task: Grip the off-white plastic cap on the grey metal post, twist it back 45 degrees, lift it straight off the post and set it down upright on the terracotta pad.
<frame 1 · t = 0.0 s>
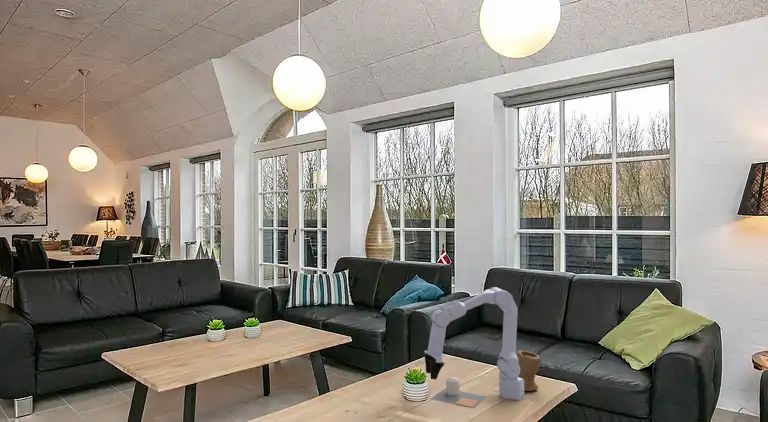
hand: (431, 375, 198), 11 cm above the table, tool pointing down, fingers open, 7 cm apart
base board: (458, 400, 201), on the table
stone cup: (523, 387, 217), on the table
metal post: (452, 388, 206), on the base board, point 3 cm above the table
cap: (452, 386, 206), on the base board, point 4 cm above the table
terracotta pad: (467, 402, 195), resting on base board
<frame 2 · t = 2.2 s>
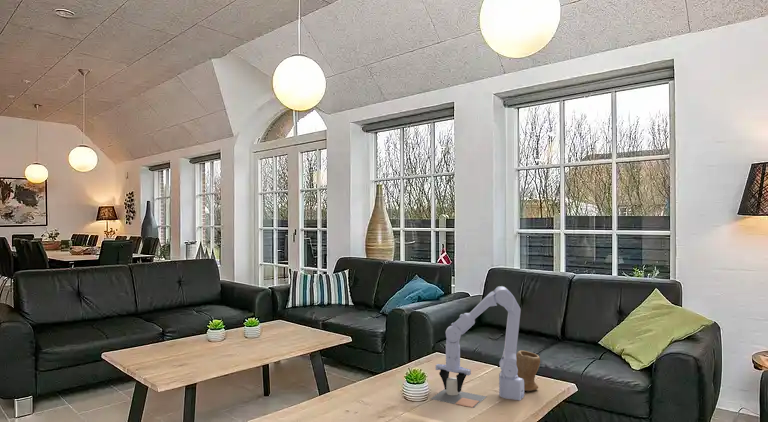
hand: (452, 390, 206), 2 cm above the table, tool pointing down, fingers closed on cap, 5 cm apart
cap: (452, 386, 206), on the base board, point 4 cm above the table, touching gripper
everything else where it was.
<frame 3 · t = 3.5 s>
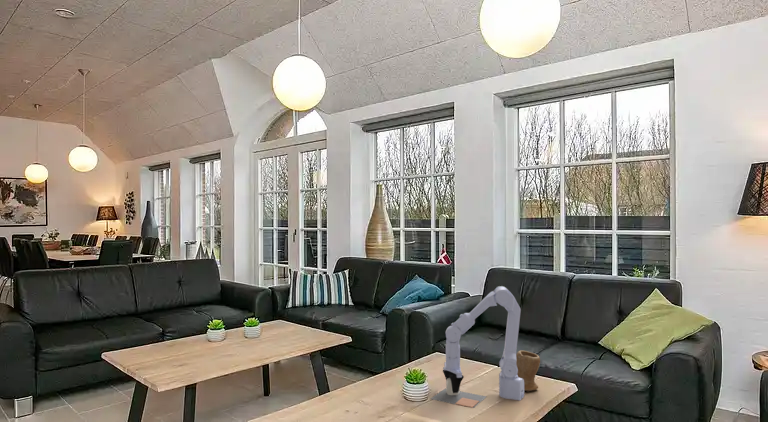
hand: (452, 390, 206), 2 cm above the table, tool pointing down, fingers closed on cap, 5 cm apart
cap: (452, 386, 206), point 4 cm above the table, touching gripper
everything else where it was.
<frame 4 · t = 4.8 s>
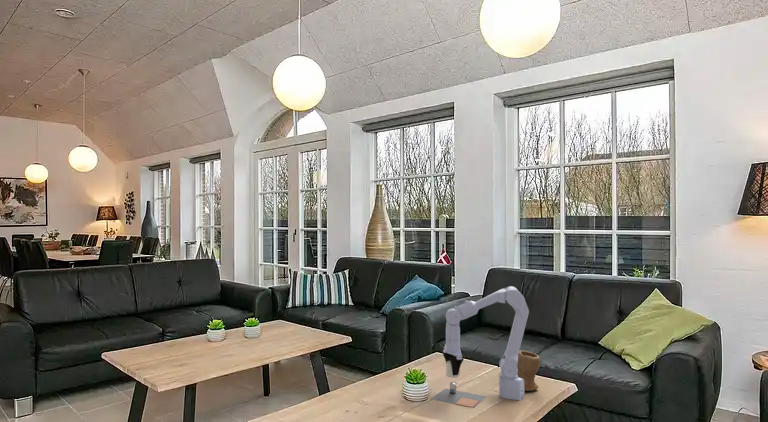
hand: (452, 372, 206), 9 cm above the table, tool pointing down, fingers closed on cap, 5 cm apart
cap: (452, 368, 206), point 11 cm above the table, touching gripper
everything else where it was.
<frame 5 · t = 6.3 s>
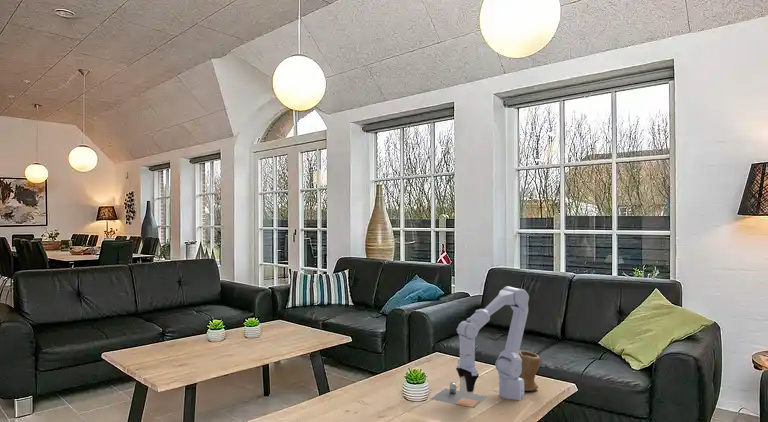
hand: (467, 389, 195), 7 cm above the table, tool pointing down, fingers closed on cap, 5 cm apart
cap: (467, 384, 195), point 8 cm above the table, touching gripper
everything else where it was.
when the fingers open (4 cm above the table, at t = 7.3 s): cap drops 1 cm, resting on terracotta pad.
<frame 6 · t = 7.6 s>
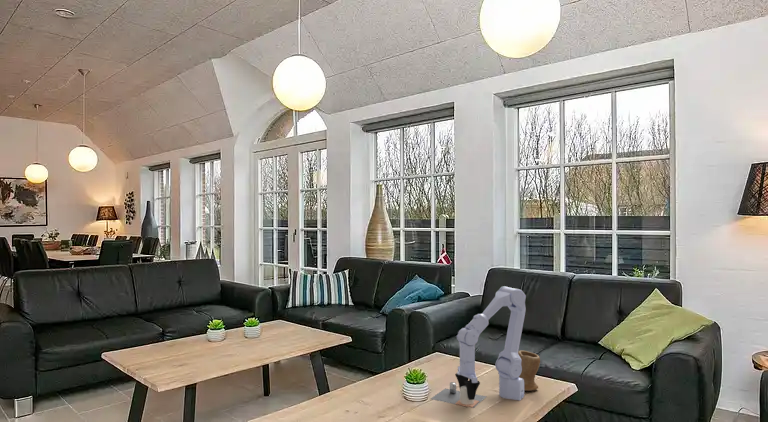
hand: (467, 395, 195), 4 cm above the table, tool pointing down, fingers open, 7 cm apart
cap: (467, 394, 195), point 4 cm above the table, touching terracotta pad
everything else where it was.
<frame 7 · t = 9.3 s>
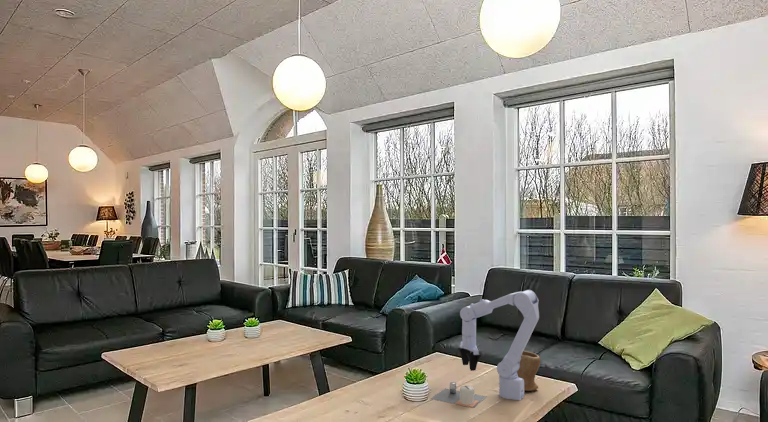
hand: (469, 367, 213), 9 cm above the table, tool pointing down, fingers open, 7 cm apart
nothing on the table moved.
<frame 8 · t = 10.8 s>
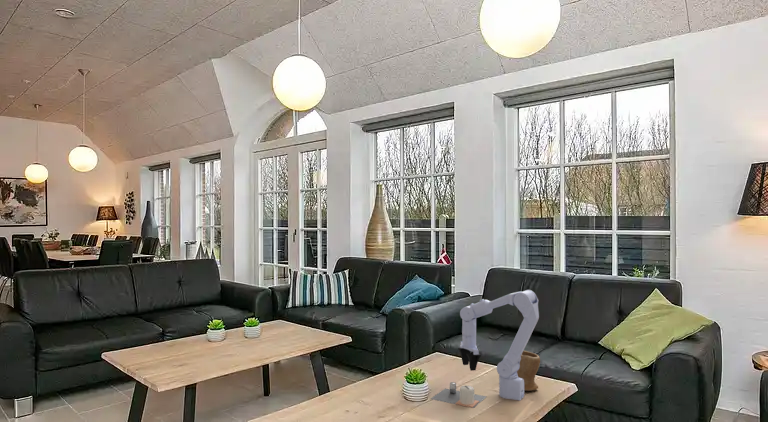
hand: (469, 367, 213), 9 cm above the table, tool pointing down, fingers open, 7 cm apart
nothing on the table moved.
at the end: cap 0.1 cm from the target spot, point 4.3 cm above the table; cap tilted 0°; the gripper is holding nothing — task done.
